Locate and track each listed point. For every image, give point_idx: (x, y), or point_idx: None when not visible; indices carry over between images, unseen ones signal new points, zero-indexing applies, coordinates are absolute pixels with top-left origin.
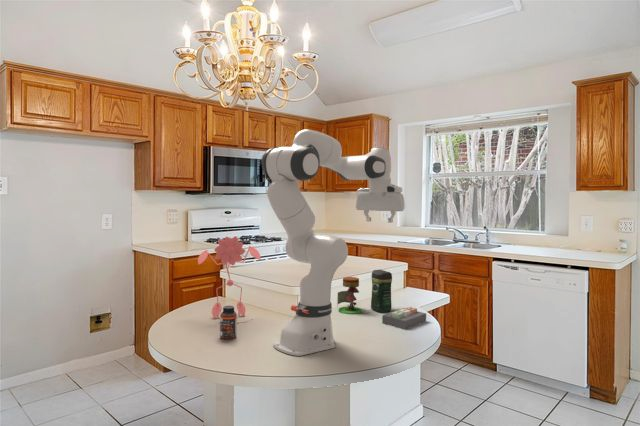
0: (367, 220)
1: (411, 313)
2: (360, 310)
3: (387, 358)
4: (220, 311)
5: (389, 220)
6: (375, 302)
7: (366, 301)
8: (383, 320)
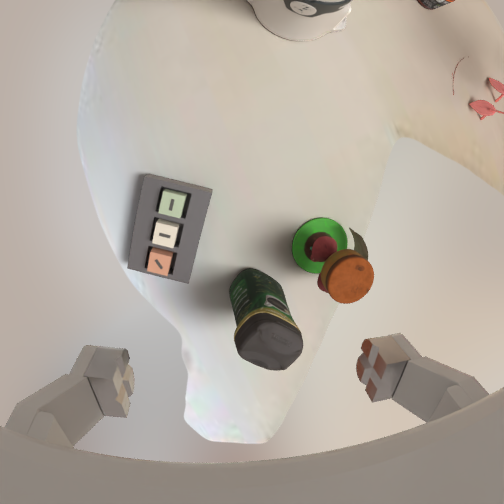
0: (391, 337)
1: (155, 249)
2: (296, 252)
3: (132, 4)
4: (494, 86)
5: (99, 355)
6: (267, 282)
7: (310, 334)
8: (208, 189)
